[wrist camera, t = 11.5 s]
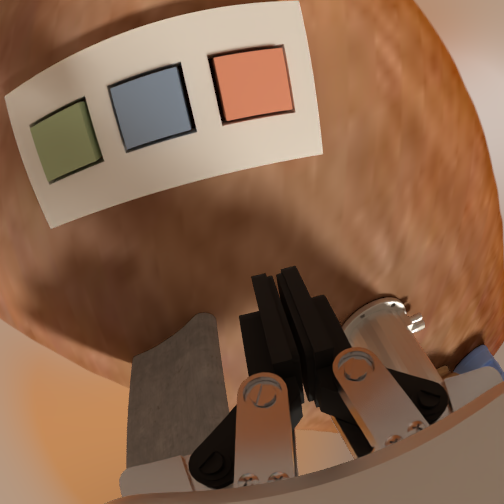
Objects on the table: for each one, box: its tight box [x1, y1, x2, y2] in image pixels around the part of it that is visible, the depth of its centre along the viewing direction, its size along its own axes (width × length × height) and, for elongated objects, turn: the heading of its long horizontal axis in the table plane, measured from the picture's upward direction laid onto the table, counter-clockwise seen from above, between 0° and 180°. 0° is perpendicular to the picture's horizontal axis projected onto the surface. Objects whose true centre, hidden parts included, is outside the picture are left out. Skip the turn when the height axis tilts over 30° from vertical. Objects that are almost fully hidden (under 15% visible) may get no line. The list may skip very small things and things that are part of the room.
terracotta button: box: [212, 48, 293, 121], centre depth 20 cm, size 5×5×3 cm
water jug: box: [453, 345, 504, 381], centre depth 59 cm, size 16×16×28 cm
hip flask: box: [127, 313, 229, 469], centre depth 29 cm, size 16×4×20 cm, turn 127°
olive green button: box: [30, 101, 102, 182], centre depth 19 cm, size 5×5×3 cm
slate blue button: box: [110, 67, 192, 149], centre depth 20 cm, size 5×5×3 cm
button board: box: [5, 1, 323, 229], centre depth 20 cm, size 26×14×3 cm, turn 100°
